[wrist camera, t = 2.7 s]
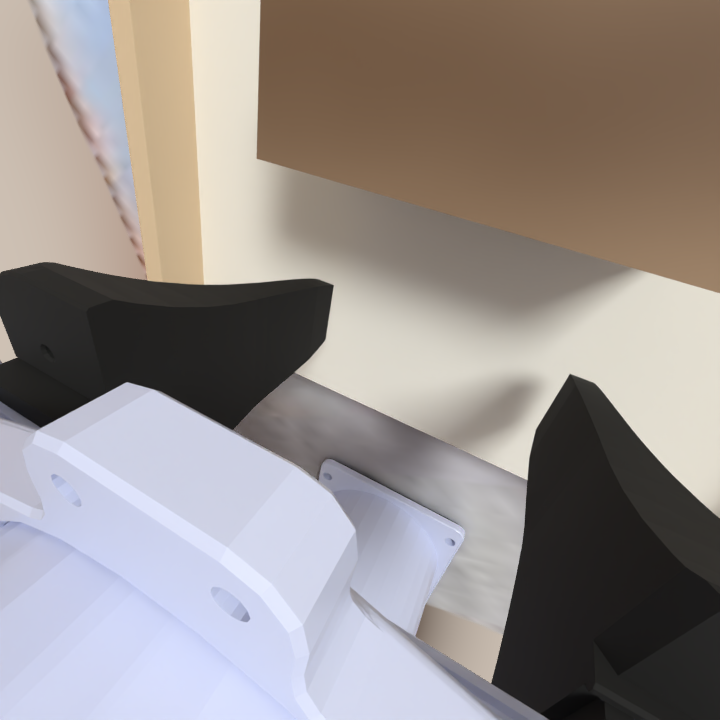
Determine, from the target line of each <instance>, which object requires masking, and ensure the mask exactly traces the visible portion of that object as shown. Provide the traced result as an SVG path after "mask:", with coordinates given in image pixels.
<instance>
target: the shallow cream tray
mask: <svg viewBox="0 0 720 720" xmlns="http://www.w3.org/2000/svg"><path fill="white" fill-rule="evenodd" d="M108 3H109V10H110V17H111V24H112V31H113V38H114V45H115V52H116V59H117V67H118V74H119V81H120V88H121V95H122V102H123V109H124V116H125V123H126V130H127V137H128V145H129V152H130V159H131V166H132V173H133V180H134V187H135V194H136V201H137V208H138V215H139V223H140V230H141V237H142V244H143V251H144V258H145V265H146V272H147V279H148V281H156V282H168V283H180V284H199V285H227V284H244V283H259V282H270V281H280V280H291V279H307V278H312V279H319V280H322V281H324V282H327V283H330V284H332V285H334V288H333V294H332V301H331V307H330V314H329V320H328V327H327V334H326V340H325V341H324V342H323V344H322V345H321V346H320V347H319V349H318V350H317V351H316V352H315V353H314V354H313V356H312V357H311V358H310V359H309V360H308V361H307V362H306V363H305V364H303V365H302V366H301V367H300V368H299V369H298V370H296V371H295V372H294V373H296V374H298V375H301V376H303V377H305V378H307V379H309V380H311V381H314V382H316V383H318V384H320V385H322V386H324V387H327V388H329V389H331V390H333V391H335V392H337V393H340V394H342V395H344V396H346V397H348V398H350V399H353V400H355V401H357V402H359V403H361V404H363V405H366V406H368V407H370V408H372V409H374V410H376V411H379V412H381V413H383V414H385V415H387V416H389V417H392V418H394V419H396V420H398V421H400V422H402V423H405V424H407V425H409V426H411V427H413V428H415V429H417V430H420V431H422V432H424V433H426V434H428V435H430V436H433V437H435V438H437V439H439V440H441V441H443V442H446V443H448V444H450V445H452V446H454V447H456V448H459V449H461V450H463V451H465V452H467V453H469V454H472V455H474V456H476V457H478V458H480V459H482V460H485V461H487V462H489V463H491V464H493V465H495V466H498V467H500V468H502V469H504V470H506V471H508V472H511V473H513V474H515V475H517V476H519V477H521V478H524V479H526V480H528V467H529V457H530V452H531V448H532V444H533V440H534V435H535V431H536V428H537V427H538V425H539V424H540V422H541V420H542V419H543V417H544V415H545V414H546V412H547V410H548V409H549V407H550V406H551V404H552V402H553V401H554V399H555V397H556V396H557V394H558V392H559V391H560V389H561V388H562V386H563V384H564V383H565V381H566V379H567V378H568V376H569V375H570V374H572V375H575V376H577V377H580V378H583V379H585V380H588V381H591V382H593V383H595V384H596V385H597V386H598V387H599V388H600V389H601V391H602V392H603V393H604V394H605V395H606V397H607V398H608V399H609V400H610V402H611V403H612V404H613V406H614V407H615V408H616V410H617V411H618V412H619V413H620V415H621V416H622V417H623V419H624V420H625V421H626V422H627V424H628V425H629V426H630V427H631V429H632V430H633V431H634V432H635V434H636V435H637V436H638V437H639V438H640V440H641V441H642V442H643V443H644V444H645V445H646V447H647V448H648V449H649V450H650V451H651V452H652V453H653V454H654V455H655V457H656V458H657V459H658V460H659V461H660V462H661V463H662V464H663V465H664V466H665V468H666V469H667V470H668V471H669V472H670V473H671V474H672V475H673V476H674V477H675V478H676V479H677V480H678V481H679V482H680V483H682V484H683V485H684V486H685V487H686V488H687V489H688V490H689V491H690V492H691V493H692V494H693V495H694V496H695V497H696V498H697V499H698V500H699V501H700V502H702V503H703V504H704V505H705V506H706V507H707V508H708V509H709V510H711V511H712V512H713V513H714V514H715V515H716V516H718V517H719V518H720V293H717V292H713V291H710V290H706V289H703V288H700V287H696V286H693V285H689V284H686V283H682V282H679V281H676V280H672V279H669V278H665V277H662V276H658V275H655V274H651V273H648V272H645V271H641V270H638V269H634V268H631V267H627V266H624V265H620V264H617V263H614V262H610V261H607V260H603V259H600V258H596V257H593V256H590V255H586V254H583V253H579V252H576V251H572V250H569V249H565V248H562V247H559V246H555V245H552V244H548V243H545V242H541V241H538V240H535V239H531V238H528V237H524V236H521V235H517V234H514V233H510V232H507V231H504V230H500V229H497V228H493V227H490V226H486V225H483V224H479V223H476V222H473V221H469V220H466V219H462V218H459V217H455V216H452V215H449V214H445V213H442V212H438V211H435V210H431V209H428V208H424V207H421V206H418V205H414V204H411V203H407V202H404V201H400V200H397V199H394V198H390V197H387V196H383V195H380V194H376V193H373V192H369V191H366V190H363V189H359V188H356V187H352V186H349V185H345V184H342V183H338V182H335V181H332V180H328V179H325V178H321V177H318V176H314V175H311V174H308V173H304V172H301V171H297V170H294V169H290V168H287V167H283V166H280V165H277V164H273V163H270V162H266V161H263V160H259V159H257V119H258V79H259V39H260V0H108Z"/></svg>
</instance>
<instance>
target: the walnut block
mask: <svg viewBox="0 0 720 720" xmlns="http://www.w3.org/2000/svg"><path fill="white" fill-rule="evenodd" d="M257 159H259V160H263V161H266V162H270V163H273V164H277V165H280V166H283V167H287V168H290V169H294V170H297V171H301V172H304V173H308V174H311V175H314V176H318V177H321V178H325V179H328V180H332V181H335V182H338V183H342V184H345V185H349V186H352V187H356V188H359V189H363V190H366V191H369V192H373V193H376V194H380V195H383V196H387V197H390V198H394V199H397V200H400V201H404V202H407V203H411V204H414V205H418V206H421V207H424V208H428V209H431V210H435V211H438V212H442V213H445V214H449V215H452V216H455V217H459V218H462V219H466V220H469V221H473V222H476V223H479V224H483V225H486V226H490V227H493V228H497V229H500V230H504V231H507V232H510V233H514V234H517V235H521V236H524V237H528V238H531V239H535V240H538V241H541V242H545V243H548V244H552V245H555V246H559V247H562V248H565V249H569V250H572V251H576V252H579V253H583V254H586V255H590V256H593V257H596V258H600V259H603V260H607V261H610V262H614V263H617V264H620V265H624V266H627V267H631V268H634V269H638V270H641V271H645V272H648V273H651V274H655V275H658V276H662V277H665V278H669V279H672V280H676V281H679V282H682V283H686V284H689V285H693V286H696V287H700V288H703V289H706V290H710V291H713V292H717V293H720V0H260V39H259V79H258V119H257Z"/></svg>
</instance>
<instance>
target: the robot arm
mask: <svg viewBox="0 0 720 720" xmlns="http://www.w3.org/2000/svg"><path fill="white" fill-rule="evenodd" d="M333 288H334V285H332V284H330V283H327V282H324V281H322V280H319V279H312V278H307V279H291V280H280V281H270V282H259V283H244V284H227V285H199V284H180V283H168V282H156V281H147V280H139V279H132V278H126V277H120V276H114V275H108V274H103V273H98V272H93V271H88V270H84V269H80V268H75V267H70V266H66V265H61V264H58V263H49V262H43V263H38V264H33V265H29V266H25V267H20V268H17V269H12V270H7V271H3V272H1V273H0V316H1V319H2V321H3V324H4V327H5V329H6V331H7V334H8V336H9V339H10V342H11V344H12V347H13V349H14V352H15V354H16V356H17V357H18V358H15V359H13V360H10V361H8V362H5V363H2V362H1V361H0V720H720V518H719V517H718V516H716V515H715V514H714V513H713V512H712V511H711V510H709V509H708V508H707V507H706V506H705V505H704V504H703V503H702V502H700V501H699V500H698V499H697V498H696V497H695V496H694V495H693V494H692V493H691V492H690V491H689V490H688V489H687V488H686V487H685V486H684V485H683V484H682V483H680V482H679V481H678V480H677V479H676V478H675V477H674V476H673V475H672V474H671V473H670V472H669V471H668V470H667V469H666V468H665V466H664V465H663V464H662V463H661V462H660V461H659V460H658V459H657V458H656V457H655V455H654V454H653V453H652V452H651V451H650V450H649V449H648V448H647V447H646V445H645V444H644V443H643V442H642V441H641V440H640V438H639V437H638V436H637V435H636V434H635V432H634V431H633V430H632V429H631V427H630V426H629V425H628V424H627V422H626V421H625V420H624V419H623V417H622V416H621V415H620V413H619V412H618V411H617V410H616V408H615V407H614V406H613V404H612V403H611V402H610V400H609V399H608V398H607V397H606V395H605V394H604V393H603V392H602V391H601V389H600V388H599V387H598V386H597V385H596V384H595V383H593V382H591V381H588V380H585V379H583V378H580V377H577V376H575V375H572V374H570V375H569V376H568V378H567V379H566V381H565V383H564V384H563V386H562V388H561V389H560V391H559V392H558V394H557V396H556V397H555V399H554V401H553V402H552V404H551V406H550V407H549V409H548V410H547V412H546V414H545V415H544V417H543V419H542V420H541V422H540V424H539V425H538V427H537V428H536V431H535V435H534V440H533V444H532V448H531V452H530V457H529V467H528V481H527V496H526V511H525V527H524V536H523V544H522V549H521V554H520V559H519V565H518V570H517V575H516V580H515V585H514V589H513V594H512V599H511V603H510V608H509V613H508V617H507V621H506V626H505V630H504V634H503V638H502V643H501V647H500V651H499V655H498V660H497V664H496V667H495V671H494V675H493V679H492V683H489V682H488V681H486V680H485V679H483V678H481V677H480V676H478V675H476V674H475V673H473V672H472V671H470V670H468V669H467V668H465V667H464V666H462V665H460V664H459V663H457V662H456V661H454V660H452V659H451V658H449V657H448V656H446V655H444V654H443V653H441V652H439V651H438V650H436V649H435V648H433V647H431V646H430V645H428V644H427V643H425V642H423V641H422V640H420V639H418V638H417V637H415V635H416V632H417V629H418V625H419V622H420V619H421V616H422V613H423V610H424V606H425V604H426V602H427V600H428V599H429V597H430V595H431V594H432V592H433V590H434V589H435V587H436V585H437V584H438V582H439V580H440V579H441V577H442V575H443V574H444V572H445V570H446V569H447V567H448V565H449V564H450V562H451V561H452V559H453V557H454V556H455V554H456V552H457V551H458V549H459V547H460V546H461V544H462V542H463V540H464V536H465V531H464V529H463V528H462V527H461V526H459V525H458V524H456V523H454V522H452V521H450V520H448V519H446V518H444V517H442V516H440V515H438V514H437V513H435V512H433V511H431V510H429V509H427V508H425V507H423V506H421V505H419V504H417V503H415V502H413V501H412V500H410V499H408V498H406V497H404V496H402V495H400V494H398V493H396V492H394V491H392V490H390V489H388V488H386V487H385V486H383V485H381V484H379V483H377V482H375V481H373V480H371V479H369V478H367V477H365V476H363V475H361V474H359V473H358V472H356V471H354V470H352V469H350V468H348V467H346V466H344V465H342V464H340V463H338V462H336V461H334V460H332V459H326V460H325V461H324V462H323V463H322V465H321V470H320V475H319V480H317V479H315V478H314V477H313V476H311V475H310V474H309V473H308V472H306V471H305V470H304V469H302V468H301V467H300V466H298V465H296V464H294V463H292V462H291V461H289V460H287V459H285V458H283V457H281V456H279V455H278V454H276V453H274V452H272V451H270V450H268V449H266V448H265V447H263V446H261V445H259V444H257V443H255V442H253V441H252V440H250V439H248V438H246V437H244V436H242V435H240V434H239V433H237V432H235V431H233V429H234V428H235V427H236V426H237V425H238V424H239V423H240V422H241V420H242V419H243V418H244V417H245V416H246V415H247V414H248V413H249V412H250V411H251V410H252V409H253V408H254V407H255V406H256V405H257V404H258V403H259V402H260V401H261V400H262V399H263V398H264V397H266V396H267V395H268V394H269V393H270V392H272V391H273V390H274V389H275V388H276V387H277V386H279V385H280V384H281V383H282V382H283V381H285V380H286V379H287V378H288V377H289V376H291V375H292V374H293V373H294V372H295V371H296V370H298V369H299V368H300V367H301V366H302V365H303V364H305V363H306V362H307V361H308V360H309V359H310V358H311V357H312V356H313V354H314V353H315V352H316V351H317V350H318V349H319V347H320V346H321V345H322V344H323V342H324V341H325V340H326V334H327V327H328V320H329V314H330V307H331V301H332V294H333Z"/></svg>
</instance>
